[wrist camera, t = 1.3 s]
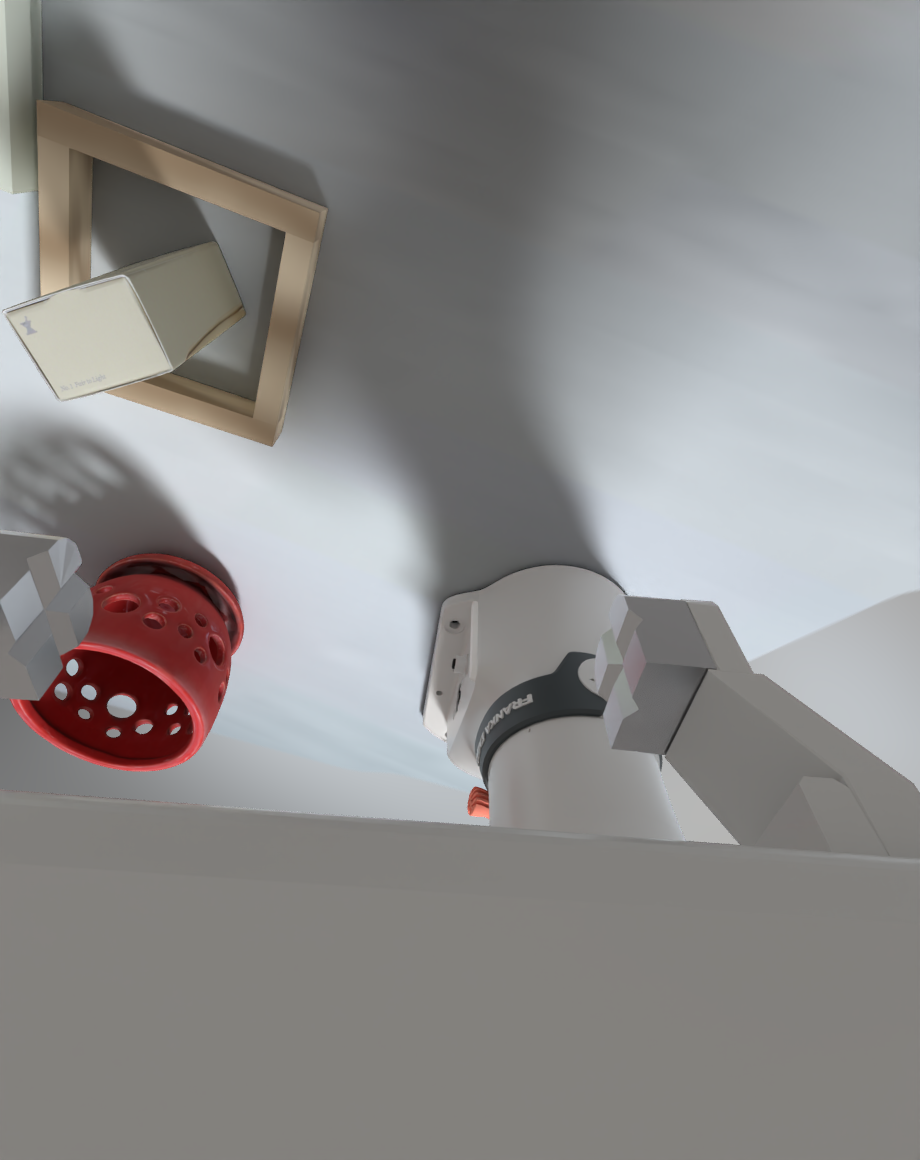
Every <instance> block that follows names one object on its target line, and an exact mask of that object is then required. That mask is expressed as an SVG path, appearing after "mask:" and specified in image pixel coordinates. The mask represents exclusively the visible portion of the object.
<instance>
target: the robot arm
mask: <svg viewBox="0 0 920 1160" xmlns="http://www.w3.org/2000/svg"><path fill="white" fill-rule="evenodd" d="M81 564H82V559H81V556H80V553H79V550H78V547H77V544H76V543H75V542H73V541H72V540H70V539H69V538H65V537H57V536H49V535H41V534H33V533H25V532H16V531H8V530H0V698H3V699H20V700H37V701H39V700H40V699H41V697H42V696H43V694H44V693H45V692H46V690H47V689H48V688H49V686H50V685H51V684H52V682H53V681H54V679H55V678H56V677H57V675H58V674H59V673H60V671H61V670H62V668H63V664H62V661H61V657H60V656H61V655H63V654H65V653H66V652H68V651H70V650H72V649H74V648H76V647H78V646H79V645H80V643H81V642H82V641H83V639H84V638H85V636H86V635H87V633H88V631H89V627H90V624H91V620H92V617H93V598H92V594H91V590H90V586H89V585H87V584H86V583H85V582H84V581H83V580H82V579H81V578H80V577H79V576H78V575H77V574H76V572H77V570H78V569H79V567H80V565H81ZM451 621H458V623H452V622H451ZM423 725H424V727H425V728H426V729H427V730H428V731H429V732H431V733H432V734H433V735H434V736H436V737H437V738H439V739H441V740H442V741H444V742H446V743H447V755H448V758H449V759H450V761H451V762H452V763H453V764H454V765H455V766H456V767H458V768H459V769H460V770H462V771H464V772H465V773H467V774H469V775H471V776H474V777H476V778H479V779H482V780H483V782H484V784H485V787H486V789H487V791H486V790H484V789H482V788H479V787H474V788H473V789H472V791H471V793H470V795H469V800H468V814H469V815H471V816H479V817H486V818H488V819H489V824H490V826H480V825H479V826H478V825H466V824H452V823H440V822H426V821H413V820H399V819H386V818H373V817H360V816H347V815H346V816H345V815H333V814H319V813H306V812H293V811H280V810H266V809H253V808H239V807H224V806H212V805H199V804H186V803H172V802H159V801H145V800H131V799H119V798H104V797H92V796H79V795H65V794H52V793H51V794H50V793H39V792H25V791H11V790H0V1160H920V792H919V791H918V789H917V788H916V786H915V785H914V784H913V783H912V782H911V781H909V780H908V779H907V778H905V777H904V776H902V775H901V774H900V773H898V772H897V771H896V770H894V769H893V768H891V767H890V766H889V765H887V764H886V763H885V762H883V761H882V760H880V759H879V758H878V757H876V756H875V755H873V754H872V753H871V752H870V751H868V750H867V749H865V748H864V747H862V746H861V745H860V744H858V743H857V742H856V741H854V740H853V739H852V738H850V737H849V736H847V735H846V734H845V733H843V732H842V731H841V730H839V729H838V728H836V727H835V726H834V725H832V724H831V723H830V722H828V721H827V720H825V719H824V718H823V717H821V716H820V715H819V714H817V713H816V712H814V711H813V710H812V709H810V708H809V707H808V706H806V705H805V704H803V703H802V702H801V701H799V700H798V699H796V698H795V697H794V696H792V695H791V694H790V693H788V692H787V691H786V690H784V689H783V688H781V687H780V686H779V685H777V684H776V683H774V682H773V681H772V680H770V679H769V678H768V677H766V676H765V675H762V674H754V673H753V671H752V669H751V667H750V666H749V663H748V662H747V660H746V658H745V656H744V654H743V652H742V650H741V648H740V646H739V644H738V643H737V641H736V639H735V637H734V635H733V633H732V631H731V629H730V627H729V626H728V624H727V622H726V620H725V618H724V616H723V614H722V612H721V610H720V609H719V607H718V605H716V604H715V603H713V602H711V601H697V600H683V599H681V600H672V599H662V598H651V597H640V596H629V595H625V594H624V593H623V591H622V590H621V589H620V588H619V587H618V586H616V585H615V584H614V583H613V582H611V581H610V580H608V579H607V578H605V577H603V576H601V575H599V574H597V573H595V572H592V571H589V570H586V569H583V568H578V567H573V566H564V565H547V566H539V567H533V568H528V569H525V570H521V571H518V572H515V573H513V574H510V575H508V576H506V577H504V578H502V579H500V580H499V581H497V582H495V583H493V584H492V585H490V586H488V587H486V588H484V589H482V590H479V591H473V592H468V593H462V594H458V595H454V596H452V597H449V598H448V599H446V600H445V601H444V602H443V604H442V608H441V613H440V619H439V625H438V630H437V636H436V642H435V647H434V653H433V659H432V665H431V670H430V676H429V682H428V688H427V693H426V699H425V705H424V711H423ZM662 755H666V756H665V758H666V759H667V761H668V762H669V763H670V764H671V765H672V766H673V768H674V769H675V770H676V771H677V772H678V773H679V775H680V776H681V777H682V778H683V779H684V780H685V781H686V783H687V784H688V785H689V786H690V787H691V789H692V790H693V791H694V792H695V793H696V794H697V795H698V797H699V798H700V799H701V800H702V801H703V802H704V804H705V805H706V806H707V807H708V808H709V809H710V810H711V812H712V813H713V814H714V815H715V816H716V818H717V819H718V820H719V821H720V822H721V823H722V825H723V826H724V827H725V828H726V829H727V830H728V831H729V833H730V834H731V835H732V836H733V837H734V838H735V840H736V841H737V842H738V843H739V844H740V845H733V844H719V843H707V842H693V841H686V839H685V837H684V835H683V832H682V830H681V827H680V825H679V823H678V820H677V818H676V815H675V813H674V810H673V807H672V804H671V802H670V799H669V796H668V793H667V790H666V787H665V785H664V782H663V779H662V775H661V769H662Z"/></svg>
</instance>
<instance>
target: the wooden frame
mask: <svg viewBox="0 0 920 1160" xmlns="http://www.w3.org/2000/svg"><path fill="white" fill-rule="evenodd" d="M37 146H38V192H39V238H40V285H41V296H43V295H46V294H49V293H52V292H55V291H58V290H60V289H63V288H66V287H69V286H72V285H75V284H78V283H81V282H83V281H86V280H89V279H90V275H91V226H92V178H93V157H94V158H97V159H99V160H102V161H105V162H107V163H110V164H112V165H115V166H117V167H120V168H123V169H125V170H128V171H130V172H133V173H135V174H138V175H140V176H143V177H146V178H148V179H151V180H153V181H156V182H158V183H161V184H163V185H166V186H169V187H171V188H174V189H176V190H179V191H181V192H184V193H187V194H189V195H192V196H194V197H197V198H199V199H202V200H204V201H207V202H210V203H212V204H215V205H217V206H220V207H222V208H225V209H228V210H230V211H233V212H235V213H238V214H240V215H243V216H245V217H248V218H251V219H253V220H256V221H258V222H261V223H263V224H266V225H268V226H271V227H274V228H276V229H279V230H281V231H284V232H286V235H285V241H284V246H283V252H282V257H281V263H280V269H279V274H278V280H277V285H276V291H275V297H274V302H273V308H272V313H271V319H270V325H269V330H268V336H267V341H266V347H265V353H264V358H263V364H262V370H261V375H260V381H259V386H258V392H257V398H256V402H255V401H252V400H249V399H246V398H243V397H240V396H237V395H234V394H231V393H228V392H225V391H222V390H219V389H216V388H213V387H211V386H208V385H205V384H202V383H199V382H196V381H193V380H190V379H187V378H184V377H181V376H178V375H175V374H172V373H166V374H163V375H160V376H157V377H153V378H150V379H147V380H144V381H140V382H137V383H133V384H130V385H127V386H123V387H120V388H116V389H113V390H109V391H105V393H108V394H111V395H114V396H117V397H121V398H124V399H127V400H130V401H133V402H136V403H139V404H142V405H145V406H148V407H151V408H154V409H158V410H161V411H164V412H167V413H170V414H173V415H176V416H179V417H182V418H185V419H188V420H191V421H194V422H198V423H201V424H204V425H207V426H210V427H213V428H216V429H219V430H222V431H225V432H228V433H231V434H235V435H238V436H241V437H244V438H247V439H250V440H253V441H256V442H259V443H262V444H265V445H268V446H271V447H272V446H273V445H274V443H275V442H276V440H277V438H278V437H279V435H280V434H281V432H282V427H283V423H284V418H285V413H286V408H287V403H288V399H289V394H290V389H291V384H292V379H293V375H294V370H295V365H296V360H297V355H298V351H299V346H300V341H301V336H302V331H303V327H304V322H305V317H306V312H307V307H308V303H309V298H310V293H311V288H312V283H313V279H314V274H315V269H316V264H317V259H318V255H319V250H320V245H321V240H322V236H323V231H324V226H325V221H326V216H327V212H328V208H326V207H323V206H321V205H318V204H316V203H313V202H311V201H308V200H306V199H303V198H301V197H299V196H296V195H294V194H291V193H289V192H286V191H284V190H281V189H279V188H276V187H274V186H271V185H269V184H266V183H264V182H261V181H259V180H256V179H254V178H251V177H249V176H246V175H244V174H241V173H239V172H236V171H234V170H231V169H229V168H227V167H224V166H222V165H219V164H217V163H214V162H212V161H209V160H207V159H204V158H202V157H199V156H197V155H194V154H192V153H189V152H187V151H184V150H182V149H179V148H177V147H174V146H172V145H169V144H167V143H164V142H162V141H160V140H157V139H155V138H152V137H150V136H147V135H145V134H142V133H140V132H137V131H135V130H132V129H130V128H127V127H125V126H122V125H120V124H117V123H115V122H112V121H110V120H107V119H105V118H102V117H100V116H97V115H95V114H92V113H90V112H88V111H85V110H83V109H80V108H78V107H75V106H73V105H70V104H68V103H65V102H60V101H47V100H37Z"/></svg>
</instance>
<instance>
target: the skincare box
mask: <svg viewBox="0 0 920 1160" xmlns="http://www.w3.org/2000/svg"><path fill="white" fill-rule="evenodd" d="M2 313H3V315H4V317H5V318H6V320H7V321H8V323H9V324H10V326H11V328H12V330H13V331H14V333H15V334H16V336H17V337H18V339H19V341H20V343H21V344H22V346H23V347H24V349H25V351H26V352H27V354H28V355H29V357H30V358H31V360H32V362H33V363H34V365H35V366H36V368H37V370H38V371H39V373H40V374H41V376H42V377H43V379H44V380H45V382H46V384H47V385H48V387H49V388H50V390H51V391H52V393H53V394H54V396H55V397H56V399H57V400H58V401H60V402H63V401H68V400H73V399H77V398H82V397H86V396H90V395H94V394H98V393H102V392H105V391H109V390H113V389H116V388H120V387H123V386H127V385H130V384H133V383H137V382H140V381H144V380H147V379H150V378H153V377H157V376H160V375H163V374H166V373H169V372H172V371H173V370H174V369H176V368H177V367H179V366H180V365H181V364H183V363H184V362H185V361H186V360H188V359H189V358H190V357H192V356H193V355H194V354H196V353H197V352H198V351H200V350H201V349H202V348H204V347H205V346H206V345H208V344H209V343H210V342H212V341H213V340H214V339H216V338H217V337H218V336H219V335H221V334H222V333H223V332H225V331H226V330H227V329H229V328H230V327H231V326H232V325H234V324H235V323H236V322H238V321H239V320H240V319H241V318H243V317H244V316H245V315H246V312H245V310H244V307H243V305H242V302H241V300H240V297H239V294H238V292H237V289H236V287H235V285H234V282H233V280H232V277H231V275H230V272H229V270H228V268H227V265H226V263H225V260H224V258H223V256H222V253H221V251H220V248H219V246H218V244H217V243H216V242H212V241H211V242H208V243H204V244H200V245H196V246H193V247H189V248H185V249H182V250H178V251H175V252H171V253H168V254H164V255H161V256H158V257H154V258H151V259H148V260H144V261H141V262H138V263H135V264H132V265H129V266H126V267H123V268H121V269H118V270H115V271H112V272H109V273H106V274H103V275H101V276H98V277H95V278H92V279H89V280H86V281H83V282H81V283H78V284H75V285H72V286H69V287H66V288H63V289H60V290H58V291H55V292H52V293H49V294H46V295H43V296H40V297H38V298H35V299H32V300H29V301H26V302H23V303H20V304H18V305H15V306H12V307H10V308H7V309H4V310H3V311H2Z"/></svg>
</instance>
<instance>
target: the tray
mask: <svg viewBox="0 0 920 1160" xmlns="http://www.w3.org/2000/svg"><path fill="white" fill-rule="evenodd" d="M37 100H43V72H42V13H41V0H0V190H3V191H6V192H8V193H11V194H17V193H25V192H32V191H38V146H37Z"/></svg>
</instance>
